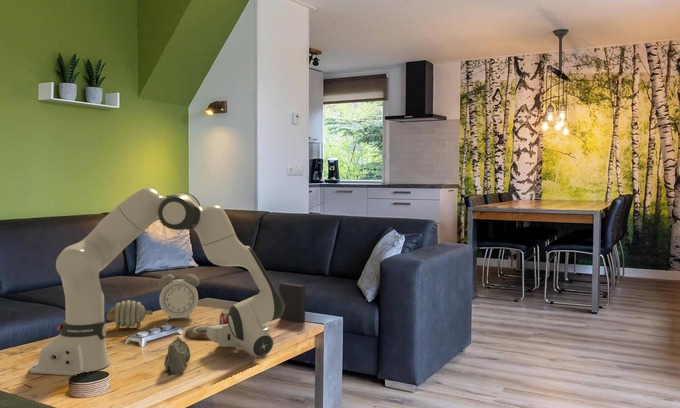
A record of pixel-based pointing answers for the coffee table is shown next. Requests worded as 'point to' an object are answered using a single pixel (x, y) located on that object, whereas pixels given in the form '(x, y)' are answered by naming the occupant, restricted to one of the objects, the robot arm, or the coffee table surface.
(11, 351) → the coffee table surface
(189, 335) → the ring plate
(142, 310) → the toy sheep
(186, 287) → the alarm clock
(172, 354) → the mineral rock
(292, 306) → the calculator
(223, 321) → the soda can
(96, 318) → the robot arm
